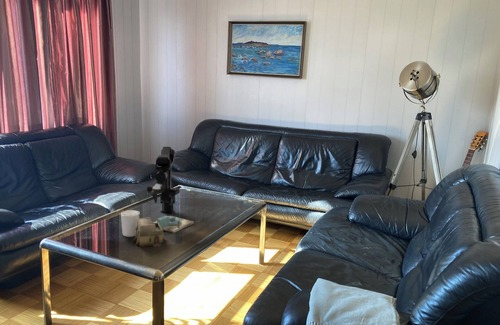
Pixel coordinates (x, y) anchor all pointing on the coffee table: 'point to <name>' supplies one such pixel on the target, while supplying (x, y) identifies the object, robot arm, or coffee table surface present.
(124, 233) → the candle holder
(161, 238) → the miniature house
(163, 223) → the flange
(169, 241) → the coffee table surface
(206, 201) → the coffee table surface
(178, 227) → the post board
